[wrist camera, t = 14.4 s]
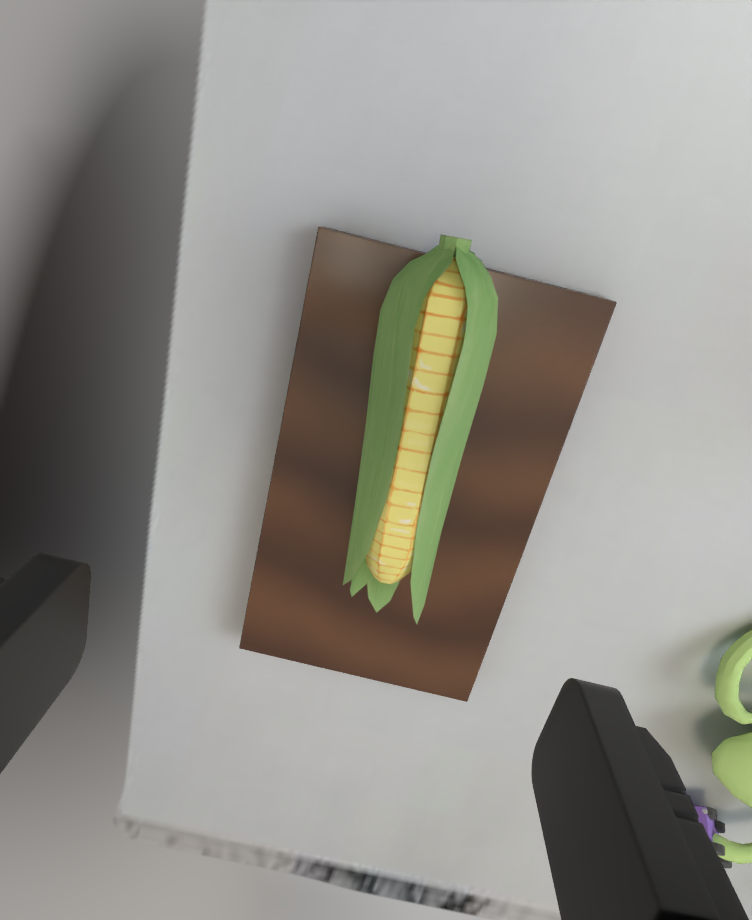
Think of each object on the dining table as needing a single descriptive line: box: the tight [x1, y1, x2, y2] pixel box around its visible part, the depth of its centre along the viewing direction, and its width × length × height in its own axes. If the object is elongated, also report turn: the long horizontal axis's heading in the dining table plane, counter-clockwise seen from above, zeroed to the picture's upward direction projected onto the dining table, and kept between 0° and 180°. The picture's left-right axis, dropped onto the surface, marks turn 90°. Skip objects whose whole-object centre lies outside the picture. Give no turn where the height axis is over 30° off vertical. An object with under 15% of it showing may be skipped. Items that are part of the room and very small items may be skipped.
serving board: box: [239, 227, 616, 702], centre depth 32 cm, size 24×14×2 cm, turn 167°
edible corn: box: [343, 235, 498, 624], centre depth 28 cm, size 5×20×5 cm, turn 170°
